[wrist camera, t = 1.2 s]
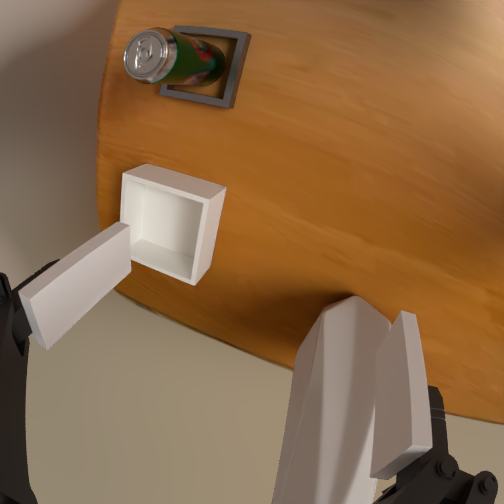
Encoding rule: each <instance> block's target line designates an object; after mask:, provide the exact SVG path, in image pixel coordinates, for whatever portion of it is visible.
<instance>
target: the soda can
mask: <svg viewBox="0 0 504 504" xmlns="http://www.w3.org/2000/svg"><path fill="white" fill-rule="evenodd" d="M225 63H226V62H225V56H224V54H223V52H222V51H221V50H220V49H219V48H218V47H217V46H215V45H213V44H210V43H207V42H204V41H202V40H199V39H196V38H193V37H190V36H187V35H184V34H181V33H178V32H175V31H171V30H168V29H165V28H160V27H155V28H150V29H148V30H144V31H141V32H139V33H137V34H136V35H135V36H133V37H132V38H131V40H130V41H129V42H128V44H127V46H126V48H125V50H124V55H123V64H124V67H125V70H126V72H127V73H128V74H129V75H130V76H131V77H133V78H134V79H135V80H137V81H138V82H140V83H143V84H169V85H194V86H207V85H210V84H212V83H214V82H216V81H217V80H218V79H219V78H220V77H221V75H222V74H223V72H224V69H225Z"/></svg>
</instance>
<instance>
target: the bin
mask: <svg viewBox="0 0 504 504" xmlns="http://www.w3.org/2000/svg"><path fill="white" fill-rule="evenodd" d="M226 189H227V187H226V186H222V185H219V184H216V183H213V182H209V181H206V180H203V179H200V178H196V177H193V176H189V175H186V174H183V173H179V172H176V171H172V170H169V169H165V168H162V167H158V166H155V165H151V164H147V163H146V164H143V165H141V166H138V167H136V168H133V169H131V170H128V171H126V172H123V177H122V191H121V210H120V222H121V223H124V224H127V225H130V255H131V260H134V261H136V262H138V263H141V264H143V265H145V266H148V267H150V268H152V269H155V270H157V271H160V272H162V273H164V274H167V275H169V276H172V277H174V278H176V279H179V280H181V281H184V282H186V283H189V284H191V285H194V286H195V285H196V284H197V282H198V281H199V280H200V279H201V277H202V276H203V275H204V274H205V272H206V271H207V270H208V269H209V267H210V266H211V261H212V256H213V251H214V246H215V241H216V236H217V231H218V226H219V221H220V217H221V212H222V207H223V202H224V198H225V193H226Z"/></svg>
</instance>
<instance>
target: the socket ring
mask: <svg viewBox="0 0 504 504" xmlns="http://www.w3.org/2000/svg"><path fill="white" fill-rule="evenodd" d="M173 31H175V32H178V33H181V34H184V35H185V34H191V35H202V36H211V37H220V38H227V39H234V40H238V41H237V45H236V48H235V52H234V56H233V60H232V64H231V68H230V72H229V76H228V81H227V85H226V89H225V93H224V98H218V97H213V96H208V95H203V94H197V93H192V92H186V91H180V90H174V89H173V87H174V85H169V84H161V89H160V94H159V95H162V96H168V97H174V98H180V99H185V100H191V101H196V102H201V103H206V104H211V105H216V106H220V107H225V108H233V107H234V103H235V98H236V94H237V90H238V86H239V82H240V78H241V74H242V70H243V66H244V62H245V58H246V54H247V50H248V47H249V43H250V39H251V35H250V34H249V33H247V32H240V31H233V30H225V29H216V28H206V27H193V26H176V25H175V26H174V30H173Z"/></svg>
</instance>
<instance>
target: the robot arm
mask: <svg viewBox="0 0 504 504" xmlns="http://www.w3.org/2000/svg"><path fill="white" fill-rule="evenodd" d="M130 272H131V255H130V225H127V224H124V223H121V222H116V223H115V224H113V225H112V226H110V227H108V228H107V229H105V230H104V231H102V232H101V233H99V234H98V235H96V236H95V237H93V238H92V239H90V240H89V241H87V242H86V243H84V244H83V245H82V246H80V247H78V248H77V249H75V250H74V251H73V252H71V253H70V254H68V255H67V256H65V257H64V258H63V259H61V260H60V259H58V260H55V261H53V262H50V263H48V264H47V265H45V266H44V267H42V268H41V270H38V271H37V272H36V273H35V274H34V275H32V276H30V277H29V278H27V279H26V280H25V281H23V282H22V283H21V284H19V285H18V286H17V287H16V288H14V289H13V290H11V287H10V285H9V281H8V277H7V276H6V274H4V273H0V504H38V503H37V500H36V497H35V495H34V493H33V491H32V490H31V487H30V483H29V476H28V466H27V455H26V453H27V452H26V431H25V401H26V400H25V399H26V378H27V363H28V353H29V344H30V343H29V338H28V336H29V335H30V334H31V333H33V335H34V338H35V341H36V343H38V344H39V345H41V346H42V347H43V348H45V349H46V350H49V349H50V348H51V346H52V345H54V343H55V342H57V341H58V340H59V339H60V338H61V337H62V336H63V335H64V334H65V333H66V332H67V331H68V330H69V329H70V328H71V327H72V326H73V325H74V324H75V323H76V322H77V321H78V320H79V319H80V318H81V317H82V316H83V315H84V314H85V313H86V312H87V311H89V310H90V309H91V308H92V307H93V306H94V305H95V304H96V303H97V302H98V301H99V300H100V299H101V298H102V297H103V296H105V295H106V294H107V293H108V292H109V291H110V290H111V289H112V288H113V287H114V286H116V285H117V284H118V283H119V282H120V281H121V280H122V279H123V278H124V277H126V276H127V275H128V274H129V273H130ZM396 474H397V477H396V483H395V484H394V485H392V486H390V487H389V488H387V489H385V490H384V491H382V493H383V495H382V496H381V497H380V498H378V500H376V501H375V502H374V503H373V504H494V501H495V498H496V495H497V491H498V483H497V480H496V477H495V476H494V475H493V474H492V473H491V472H489V471H482V472H480V473H478V474H477V475H476V476H473V475H471V474H468V473H466V472H464V471H461V470H459V467H458V464H457V461H456V460H455V459H454V457H452V456H451V455H449V453H448V441H447V430H446V421H445V412H444V404H443V398H442V396H441V394H440V392H439V390H438V388H437V387H433V386H428V385H427V379H426V372H425V365H424V358H423V352H422V346H421V340H420V335H419V329H418V324H417V319H416V315H415V314H412V313H409V312H405V311H402V310H401V311H400V313H399V315H398V316H397V318H396V320H395V322H394V324H393V325H392V327H391V329H390V330H389V332H388V334H387V336H386V337H385V339H384V341H383V342H382V344H381V346H380V347H379V349H378V350H377V352H376V398H375V421H374V437H373V449H372V460H371V470H370V478H376V479H384V480H389V479H390V478H392V477H393V476H394V475H396Z"/></svg>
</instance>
